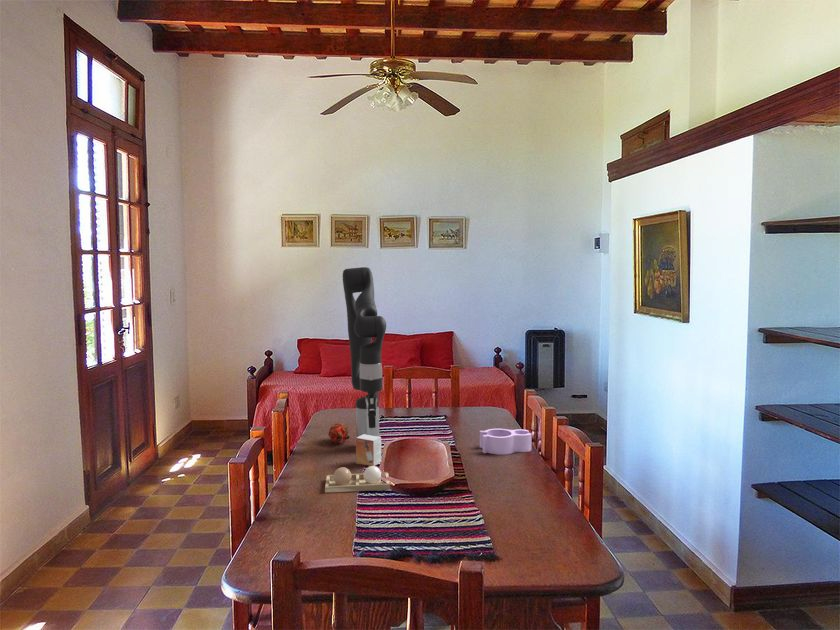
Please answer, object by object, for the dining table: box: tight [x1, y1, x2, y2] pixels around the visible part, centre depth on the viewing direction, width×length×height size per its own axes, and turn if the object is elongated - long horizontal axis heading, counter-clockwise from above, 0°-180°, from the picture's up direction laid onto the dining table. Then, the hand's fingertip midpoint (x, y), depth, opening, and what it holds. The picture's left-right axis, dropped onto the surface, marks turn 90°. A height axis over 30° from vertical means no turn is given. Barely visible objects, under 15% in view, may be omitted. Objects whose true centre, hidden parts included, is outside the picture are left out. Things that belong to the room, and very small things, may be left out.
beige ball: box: [333, 466, 352, 486], centre depth 189 cm, size 6×6×6 cm
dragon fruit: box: [328, 422, 351, 445], centre depth 237 cm, size 8×8×12 cm
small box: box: [355, 434, 382, 467], centre depth 211 cm, size 8×6×10 cm
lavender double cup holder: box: [479, 428, 533, 455], centre depth 227 cm, size 20×12×7 cm, turn 94°
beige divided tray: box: [324, 471, 391, 494], centre depth 190 cm, size 11×21×2 cm, turn 96°
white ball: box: [363, 465, 382, 484], centre depth 190 cm, size 6×6×6 cm
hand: (371, 423), depth 189 cm, fingers open, 8 cm apart
